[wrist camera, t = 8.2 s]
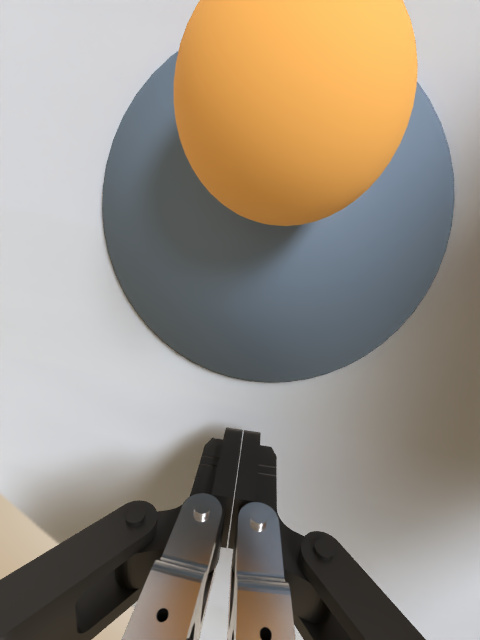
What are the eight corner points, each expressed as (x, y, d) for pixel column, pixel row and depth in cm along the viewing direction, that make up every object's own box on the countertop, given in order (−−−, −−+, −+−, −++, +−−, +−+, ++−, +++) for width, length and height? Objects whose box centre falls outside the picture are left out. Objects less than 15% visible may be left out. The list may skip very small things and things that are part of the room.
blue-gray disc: (507, 35, 10) (512, 31, 10) (397, 399, 14) (399, 402, 14) (99, 3, 11) (96, 0, 11) (108, 358, 15) (107, 360, 15)
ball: (562, -64, 5) (370, 285, 8) (409, 39, 10) (327, 226, 13) (176, -239, 4) (121, 204, 7) (222, -36, 10) (179, 176, 13)
